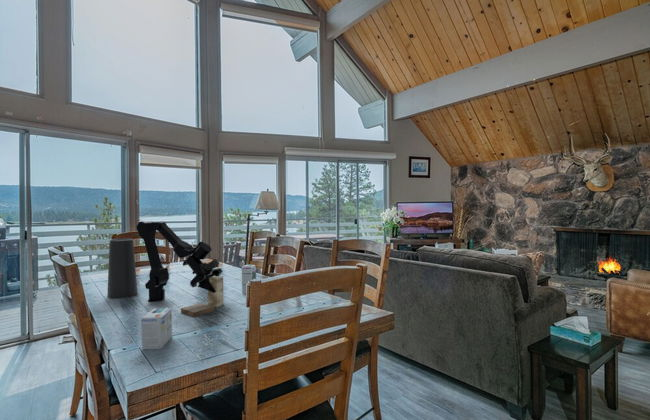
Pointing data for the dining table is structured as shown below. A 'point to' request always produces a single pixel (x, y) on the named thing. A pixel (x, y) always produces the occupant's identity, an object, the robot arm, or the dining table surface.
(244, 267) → the syrup box
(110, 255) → the vase
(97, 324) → the dining table surface
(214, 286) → the maple block
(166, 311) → the light bulb box
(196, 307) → the walnut block
